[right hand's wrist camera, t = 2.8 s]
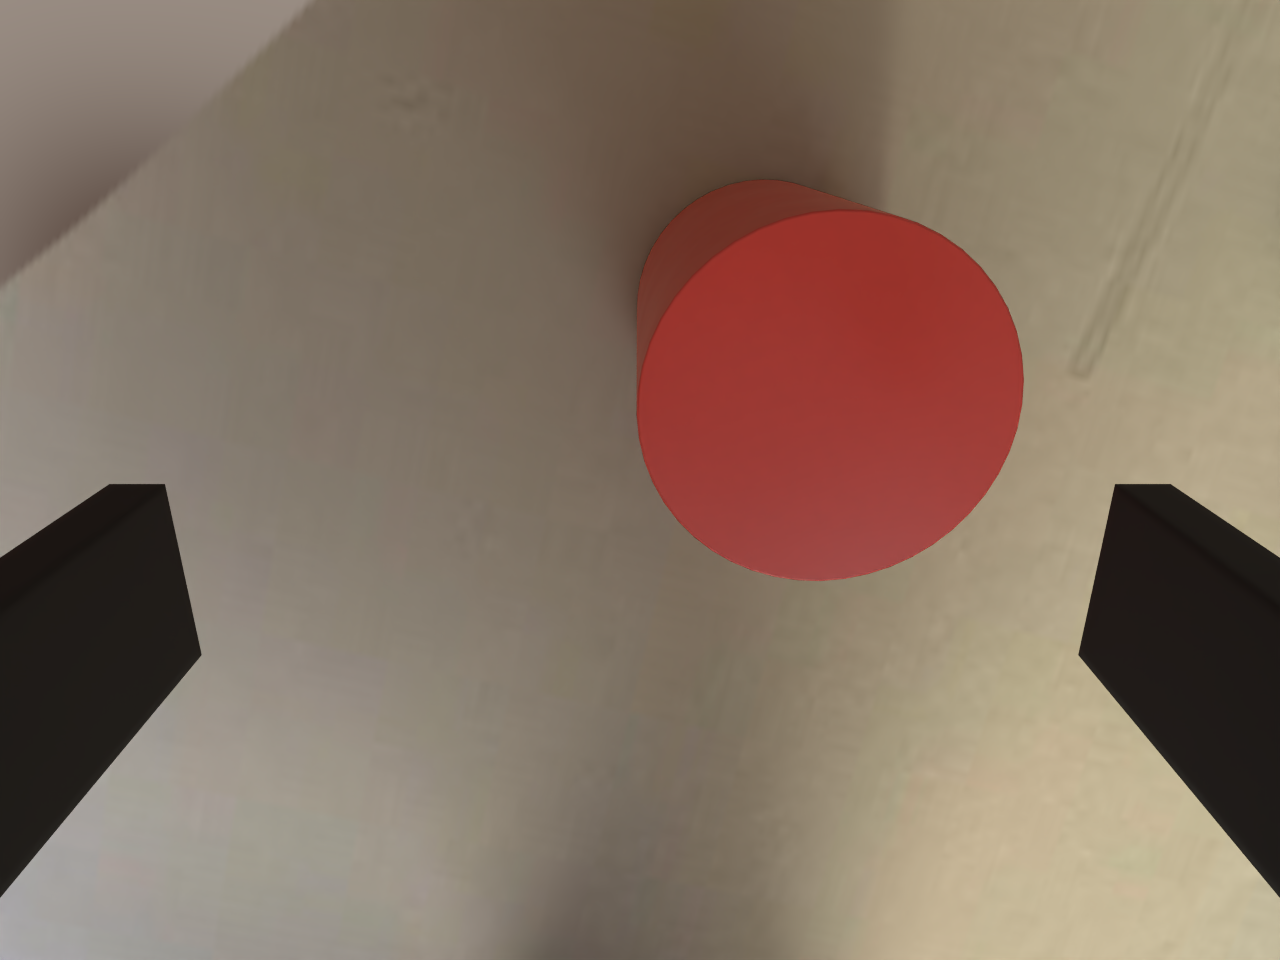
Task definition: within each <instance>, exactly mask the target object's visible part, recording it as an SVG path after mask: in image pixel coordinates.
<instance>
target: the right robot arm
mask: <svg viewBox="0 0 1280 960" xmlns="http://www.w3.org/2000/svg"><path fill="white" fill-rule="evenodd" d="M200 656H201V650H200V645H199V641H198V636H197V631H196V627H195V622H194V617H193V613H192V608H191V603H190V599H189V594H188V589H187V585H186V580H185V576H184V571H183V566H182V562H181V557H180V552H179V548H178V543H177V538H176V534H175V529H174V524H173V520H172V515H171V510H170V506H169V501H168V496H167V492H166V487H165V484H109V485H108V486H106V487H105V488H103V489H102V490H100V491H99V492H97V493H96V494H94V495H93V496H91V497H90V498H88V499H87V500H85V501H84V502H82V503H81V504H79V505H78V506H76V507H75V508H73V509H72V510H70V511H69V512H67V513H66V514H64V515H63V516H62V517H60V518H59V519H57V520H56V521H54V522H53V523H51V524H50V525H48V526H47V527H45V528H44V529H42V530H41V531H39V532H38V533H36V534H35V535H33V536H32V537H30V538H29V539H27V540H26V541H24V542H23V543H21V544H20V545H18V546H17V547H15V548H14V549H13V550H11V551H10V552H8V553H7V554H5V555H4V556H2V557H1V558H0V897H1V896H2V895H3V894H4V892H5V891H6V890H7V889H8V888H9V886H10V885H11V884H12V883H13V882H14V880H15V879H16V878H17V877H18V876H19V874H20V873H21V872H22V871H23V869H24V868H25V867H26V866H27V865H28V863H29V862H30V861H31V860H32V859H33V857H34V856H35V855H36V854H37V853H38V851H39V850H40V849H41V848H42V847H43V845H44V844H45V843H46V842H47V841H48V839H49V838H50V837H51V836H52V835H53V833H54V832H55V831H56V830H57V829H58V827H59V826H60V825H61V824H62V823H63V821H64V820H65V819H66V818H67V816H68V815H69V814H70V813H71V812H72V810H73V809H74V808H75V807H76V806H77V804H78V803H79V802H80V801H81V800H82V798H83V797H84V796H85V795H86V794H87V792H88V791H89V790H90V789H91V788H92V786H93V785H94V784H95V783H96V782H97V780H98V779H99V778H100V777H101V776H102V774H103V773H104V772H105V771H106V769H107V768H108V767H109V766H110V765H111V763H112V762H113V761H114V760H115V759H116V757H117V756H118V755H119V754H120V753H121V751H122V750H123V749H124V748H125V747H126V745H127V744H128V743H129V742H130V741H131V739H132V738H133V737H134V736H135V735H136V733H137V732H138V731H139V730H140V729H141V727H142V726H143V725H144V724H145V723H146V721H147V720H148V719H149V718H150V716H151V715H152V714H153V713H154V712H155V710H156V709H157V708H158V707H159V706H160V704H161V703H162V702H163V701H164V700H165V698H166V697H167V696H168V695H169V694H170V692H171V691H172V690H173V689H174V688H175V686H176V685H177V684H178V683H179V682H180V680H181V679H182V678H183V677H184V676H185V674H186V673H187V672H188V671H189V670H190V668H191V667H192V666H193V665H194V663H195V662H196V661H197V660H198V659H199V657H200ZM1079 656H1080V657H1081V659H1082V660H1083V661H1084V662H1085V663H1086V665H1087V666H1088V667H1089V668H1090V670H1091V671H1092V672H1093V673H1094V674H1095V676H1096V677H1097V678H1098V679H1099V680H1100V682H1101V683H1102V684H1103V685H1104V686H1105V688H1106V689H1107V690H1108V691H1109V692H1110V694H1111V695H1112V696H1113V697H1114V698H1115V700H1116V701H1117V702H1118V703H1119V704H1120V706H1121V707H1122V708H1123V709H1124V710H1125V712H1126V713H1127V714H1128V715H1129V716H1130V718H1131V719H1132V720H1133V721H1134V723H1135V724H1136V725H1137V726H1138V727H1139V729H1140V730H1141V731H1142V732H1143V733H1144V735H1145V736H1146V737H1147V738H1148V739H1149V741H1150V742H1151V743H1152V744H1153V745H1154V747H1155V748H1156V749H1157V750H1158V751H1159V753H1160V754H1161V755H1162V756H1163V757H1164V759H1165V760H1166V761H1167V762H1168V763H1169V765H1170V766H1171V767H1172V768H1173V769H1174V771H1175V772H1176V773H1177V774H1178V776H1179V777H1180V778H1181V779H1182V780H1183V782H1184V783H1185V784H1186V785H1187V786H1188V788H1189V789H1190V790H1191V791H1192V792H1193V794H1194V795H1195V796H1196V797H1197V798H1198V800H1199V801H1200V802H1201V803H1202V804H1203V806H1204V807H1205V808H1206V809H1207V810H1208V812H1209V813H1210V814H1211V815H1212V816H1213V818H1214V819H1215V820H1216V821H1217V823H1218V824H1219V825H1220V826H1221V827H1222V829H1223V830H1224V831H1225V832H1226V833H1227V835H1228V836H1229V837H1230V838H1231V839H1232V841H1233V842H1234V843H1235V844H1236V845H1237V847H1238V848H1239V849H1240V850H1241V851H1242V853H1243V854H1244V855H1245V856H1246V857H1247V859H1248V860H1249V861H1250V862H1251V863H1252V865H1253V866H1254V867H1255V868H1256V869H1257V871H1258V872H1259V873H1260V874H1261V876H1262V877H1263V878H1264V879H1265V880H1266V882H1267V883H1268V884H1269V885H1270V886H1271V888H1272V889H1273V890H1274V891H1275V892H1276V894H1277V895H1278V896H1279V897H1280V558H1279V557H1278V556H1276V555H1275V554H1273V553H1272V552H1270V551H1269V550H1267V549H1266V548H1265V547H1263V546H1262V545H1260V544H1259V543H1257V542H1256V541H1254V540H1253V539H1251V538H1250V537H1248V536H1247V535H1245V534H1244V533H1242V532H1241V531H1239V530H1238V529H1236V528H1235V527H1233V526H1232V525H1230V524H1229V523H1227V522H1226V521H1224V520H1223V519H1221V518H1220V517H1218V516H1217V515H1216V514H1214V513H1213V512H1211V511H1210V510H1208V509H1207V508H1205V507H1204V506H1202V505H1201V504H1199V503H1198V502H1196V501H1195V500H1193V499H1192V498H1190V497H1189V496H1187V495H1186V494H1184V493H1183V492H1181V491H1180V490H1178V489H1177V488H1175V487H1174V486H1172V485H1171V484H1115V487H1114V492H1113V496H1112V501H1111V506H1110V510H1109V515H1108V520H1107V524H1106V529H1105V534H1104V538H1103V543H1102V548H1101V552H1100V557H1099V562H1098V566H1097V571H1096V576H1095V580H1094V585H1093V589H1092V594H1091V599H1090V603H1089V608H1088V613H1087V617H1086V622H1085V627H1084V631H1083V636H1082V641H1081V645H1080V650H1079Z"/></svg>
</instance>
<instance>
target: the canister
mask: <svg viewBox="0 0 1280 960" xmlns="http://www.w3.org/2000/svg"><path fill="white" fill-rule="evenodd" d="M1023 383H1024V376H1023V363H1022V353H1021V349H1020V344H1019V339H1018V335H1017V331H1016V328H1015V325H1014V323H1013V320H1012V317H1011V315H1010V312H1009V309H1008V307H1007V305H1006V304H1005V302H1004V300H1003V298H1002V296H1001V295H1000V293H999V291H998V289H997V287H996V286H995V285H994V283H993V282H992V281H991V279H990V278H989V277H988V276H987V274H986V273H985V272H984V270H983V269H982V268H981V267H980V266H979V265H978V264H977V263H976V262H975V261H974V260H973V259H972V258H971V257H970V256H969V255H968V254H967V253H966V252H965V251H964V250H963V249H961V248H960V247H958V246H957V245H956V244H954V243H953V242H951V241H950V240H948V239H947V238H946V237H944V236H943V235H941V234H939V233H937V232H935V231H933V230H931V229H929V228H927V227H925V226H923V225H921V224H919V223H917V222H914V221H911V220H908V219H905V218H902V217H899V216H896V215H893V214H890V213H886V212H883V211H880V210H877V209H874V208H871V207H868V206H864V205H861V204H858V203H855V202H852V201H849V200H846V199H842V198H839V197H836V196H833V195H830V194H827V193H823V192H820V191H817V190H814V189H811V188H808V187H805V186H801V185H798V184H795V183H791V182H785V181H779V180H751V181H743V182H739V183H735V184H730V185H727V186H724V187H722V188H719V189H717V190H714V191H712V192H710V193H708V194H706V195H704V196H702V197H701V198H699V199H697V200H696V201H694V202H693V203H692V204H690V205H689V206H687V207H686V208H685V209H683V210H682V211H681V212H680V213H679V214H678V215H677V216H676V217H675V218H674V219H673V220H672V221H671V222H670V223H669V224H668V226H667V227H666V228H665V229H664V231H663V232H662V233H661V234H660V236H659V238H658V239H657V241H656V242H655V244H654V246H653V247H652V249H651V251H650V254H649V256H648V258H647V260H646V262H645V265H644V269H643V272H642V275H641V278H640V284H639V290H638V298H637V424H638V434H639V441H640V445H641V449H642V453H643V457H644V462H645V464H646V467H647V469H648V472H649V474H650V477H651V479H652V482H653V484H654V486H655V487H656V489H657V491H658V493H659V495H660V496H661V498H662V500H663V502H664V503H665V505H666V506H667V507H668V508H669V510H670V511H671V512H672V514H673V515H674V516H675V518H676V519H677V520H678V521H679V522H680V523H681V524H682V525H683V526H684V527H685V528H686V529H687V530H688V531H689V532H690V533H691V534H692V535H693V536H694V537H695V538H696V539H697V540H699V541H700V542H701V543H703V544H704V545H705V546H707V547H708V548H709V549H711V550H712V551H714V552H715V553H717V554H719V555H721V556H722V557H724V558H726V559H728V560H729V561H731V562H733V563H736V564H738V565H741V566H743V567H745V568H748V569H750V570H753V571H756V572H760V573H763V574H767V575H770V576H774V577H780V578H787V579H793V580H810V581H825V580H836V579H846V578H851V577H856V576H861V575H866V574H869V573H872V572H876V571H879V570H882V569H885V568H888V567H891V566H893V565H895V564H897V563H900V562H902V561H904V560H906V559H908V558H911V557H913V556H914V555H916V554H918V553H919V552H921V551H923V550H924V549H926V548H928V547H929V546H931V545H933V544H934V543H935V542H937V541H938V540H939V539H941V538H942V537H943V536H945V535H946V534H947V533H949V532H950V531H951V530H952V529H954V528H955V527H956V526H957V525H958V524H959V523H960V522H961V521H962V520H963V519H964V518H965V517H966V516H967V515H968V514H969V513H970V512H971V511H972V510H973V509H974V507H975V506H976V505H977V504H978V502H979V501H980V500H981V499H982V498H983V496H984V495H985V494H986V492H987V491H988V489H989V488H990V486H991V485H992V483H993V482H994V480H995V479H996V477H997V475H998V474H999V472H1000V470H1001V468H1002V466H1003V464H1004V462H1005V460H1006V458H1007V456H1008V453H1009V451H1010V448H1011V445H1012V443H1013V440H1014V437H1015V434H1016V431H1017V427H1018V422H1019V417H1020V412H1021V408H1022V398H1023Z"/></svg>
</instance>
